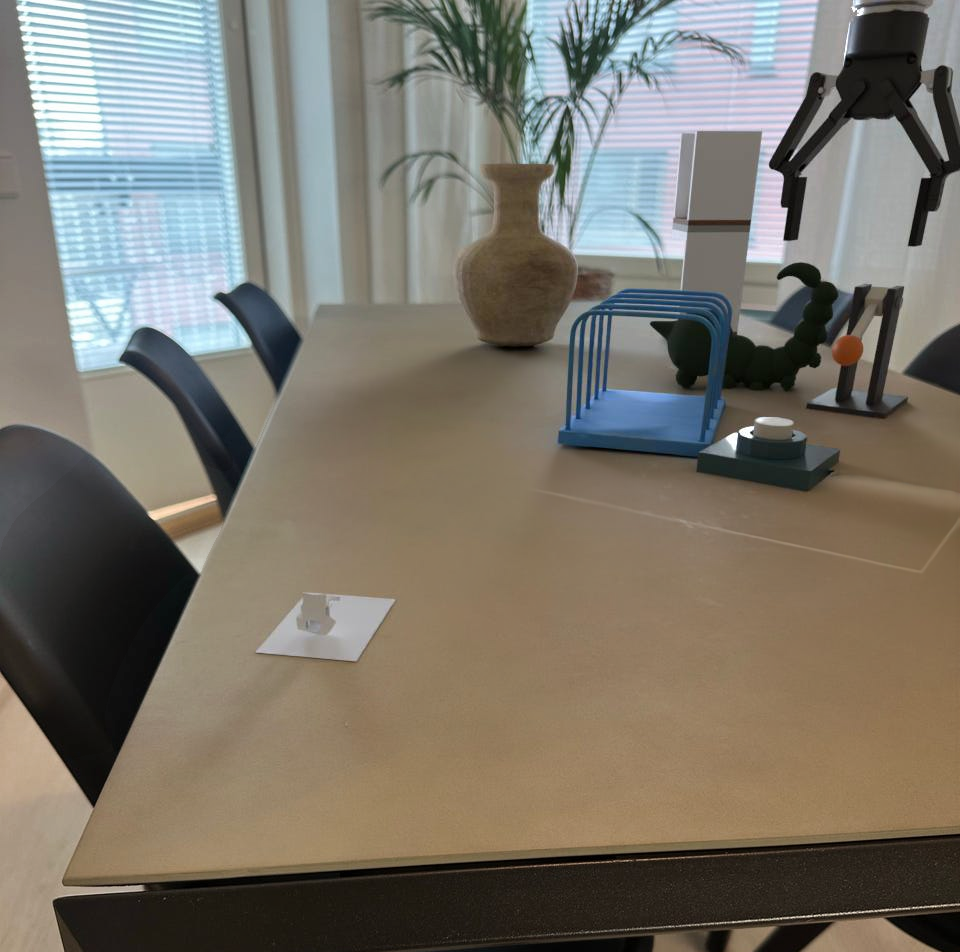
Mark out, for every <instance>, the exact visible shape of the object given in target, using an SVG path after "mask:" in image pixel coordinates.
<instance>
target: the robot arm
mask: <svg viewBox="0 0 960 952" xmlns="http://www.w3.org/2000/svg"><path fill="white" fill-rule="evenodd" d="M933 4H934V0H852V7H851V8H852V10H853V12H854V13H857V15H856V16H853V17H852V18H851V20H850V21H849V24H848V32H847V37H846V43H845V50H844V55H843V64H842V68H841V69H840V72H839V74H838V75H835V74H833V75H832V74H826V73H823V72H818V71H815V72H813V73H812V74H811V75H810V78H809V81H808V86H807V89H806V94H805V97H804V99H803V100H802V102H801V104H800V106H799V107H798V109H797V111H796V113H795V115H794V116H793V118H792V120H791V122H790V123H789V126H788V127H787V129H786V131H785V133H784V135H783V137H782V138H781V140H780V141H779V144H778V145H777V147H776V149H775V150H774V152H773V154H772V156H771V158H770V160H769V162H768V167H769V169H770V170H773V171H776V172H778V173H780V174H781V175H782V177H783V182H782V189H781V196H780V197H781V198H780V207H781V209H787V210H786V218H785V225H784V232H783V237H782V241H783V242H793V241H798V240H799V235H800V228H801V220H802V215H803V208H804V202H805V195H806V188H807V182H808V176H802V175H803V171H805V169H806V168H807V167H808V166H809V165H810V163H811V162H812V161H813V160H814V159H815V158H816V156H818V154H819V153H820V152H821V151H822V150H823V149H824V148H825V146H827V144H828V143H829V142H830V141H831V140H832V139H833V138H834V137H835V135H836V134H837V133H838V132H839V131H840V130H841V129H842V128H843V127H844V126H846V124H848V123H849V121H851V120H852V119H853V120H855V121H869V120H871V119H872V120H873V119H876V120H883V121H887V120H888V121H889V120H890V119H892V118H894V117H895V119H896V120H897V122H898V123H900V125H901V127H902V128H903V130H904V132H905V134H906V135H907V137H908V138H909V140H910V141H911V144H912V145H913V147H914V149H915V150H916V152H917V154H918V156H919V157H920V159H921V160H922V162H923V165H924V166H925V168H926V169H927V170H928V172H929V176H930V177H921V178H920V183H919V187H918V192H917V198H916V203H915V208H914V213H913V217H912V222H911V227H910V233H909V237H908V242H907V247H914V248H915V247H920V246H922V244H923V240H924V235H925V231H926V225H927V221H928V216H929V212H931V213H932V212H938V210H939V208H940V207H941V203H942V198H943V194H944V189H945V184H946V180H947V178H948V177H949V176H950V175H952V174H955V173H957V172H960V121H959V118H958V117H959V116H958V112H957V109H956V106H955V101H954V98H953V95H952V88H953V77H954V70H953V68H952V67H950V66H947V65H945V64H944V65H943V64H941V65H939V66H937V67H936V68H933V69H932V68H931V69H927V70H923V68H922V60H923V56H924V50H925V45H926V39H927V35H928V29H929V24H930V20H931V19H930V17H929V14H928V13H927V12H926V10H928V9H929V8H930V7H931V6H932V5H933ZM922 84H923V85H924V86H925V88H926V92H927V93H930V94H932V100H933V105H934V108H935V112H936V115H937V119H938V123H939V126H940V127H939V128H940V130H941V134H942V138H943V142H944V146H945V149H946V153H947V157H948V160H945V159H944V157H943V156H942V153H941V152H940V151H939V148H938V147H937V145H936V144H935V142H934V140H933V139H932V137H931V135H930V134H929V132H928V131H927V129H926V127H925V125H924V123H923V122H922V120H921V118H920V117H919V115H918V112H917V110H916V108H915V107H914V104H913V103H912V101H911V100H910V99H912V97H913V96H914V95H915V94H916V93H917V91H918V90H919V88H920V87H921V86H922ZM834 89H836V91H837V94H838V96H839V98H840V101H838V103H837V105H835V107H834V108H833V109H832V110H831V111H830V113H829V114H828V116H827V118H826V119H825V120H824V121H823V122H822V124H821V125H820V126H819V127H818V128H817V129H816V130H815V131H814V133H813V134H812V135H811V136H810V137H809V139H808V140H807V141H806V142H804V144H803V146H802V147H800V149H799V150H798V151H797V152H796V150H797V148H798V147H799V145H800V143H801V142H802V139H803V137H804V136H805V134H806V133H807V131H808V129H809V127H810V126H811V124H812V122H813V120H814V119H815V116H816V115H817V114H818V112H819V110H820V109H821V106H822V104H823V102H824V99H825V98H828V97H830V95H831V93H832V91H833V90H834ZM795 152H796V153H795ZM794 154H795V155H794Z"/></svg>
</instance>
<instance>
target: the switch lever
mask: <svg viewBox="0 0 960 952" xmlns="http://www.w3.org/2000/svg"><path fill="white" fill-rule="evenodd" d="M889 288H890V287H886V286H872V287H871V289H870V291H869V293H868V294H867V296H866V298H865V308H864V313H863V315H862V317H861V318H860V320H859V322H858V323H857V325H856V327H855V328H854V330H853V332H852V333H851V335H843V336H840V337H839V338H838V339H837V340H836V341H835V342H834V344H833V345H832V349H831V357H832V358H833V360H834V362H835V363H837V364H838V365H840V366H841V365H843V366H849V365H852V364H854V363H856V362H857V361H858V362H859V360H861V358H862V356H863V354H864V344H863V342H862V341H861V338H862V339H863V336H864V335H865V333H866V332H867V329H868V328H869V326H870V324H872V321H873V319H874V318H875V317H882V316H883V311H884V306H885V300H886V295H887V290H888V289H889Z"/></svg>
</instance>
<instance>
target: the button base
mask: <svg viewBox="0 0 960 952" xmlns="http://www.w3.org/2000/svg"><path fill="white" fill-rule="evenodd" d="M753 429H754V425H753V426H746V427H743V428H741V429H739V430H738V431H737V432H733V433H731V434H729V435H727V436H726V437H724V438H722V439H720V440H718V441H717V442H715V443H712V445H711V446H709V447H707V448H705V449H704V450H702V451H700V452H699V454H698V457H697V463H696V473H702V474H707V475H712V476H718V477H722V478H723V477H724V478H727V479H734V480H738V481H739V480H740V481H744V482H749V483H756V484H761V485H766V486H772V487H778V488H783V489H788V490H789V489H790V490H794V491H799V492H805V493H808V492H810V491H811V490H812V489H813V488H814V487H816V486H817V485H818V484H820V483H821V482H822V481H823V480H825V479H826V478H827V477H828V476H830V475H832V473H834V472H835V470H832V468H833V467H834V466H835V465H837V464H838V463H839V462H840V461H839V460H840V454H841V449H840V448H835V447H828V446H822V445H817V444H816V445H815V444H810V443H807V442H808V436H807V435H806V434H805V432H803V431H800V430H797V429H794V428H793V433H792V439H785V440H773V439H765V438H758V437H756V436H753Z"/></svg>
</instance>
